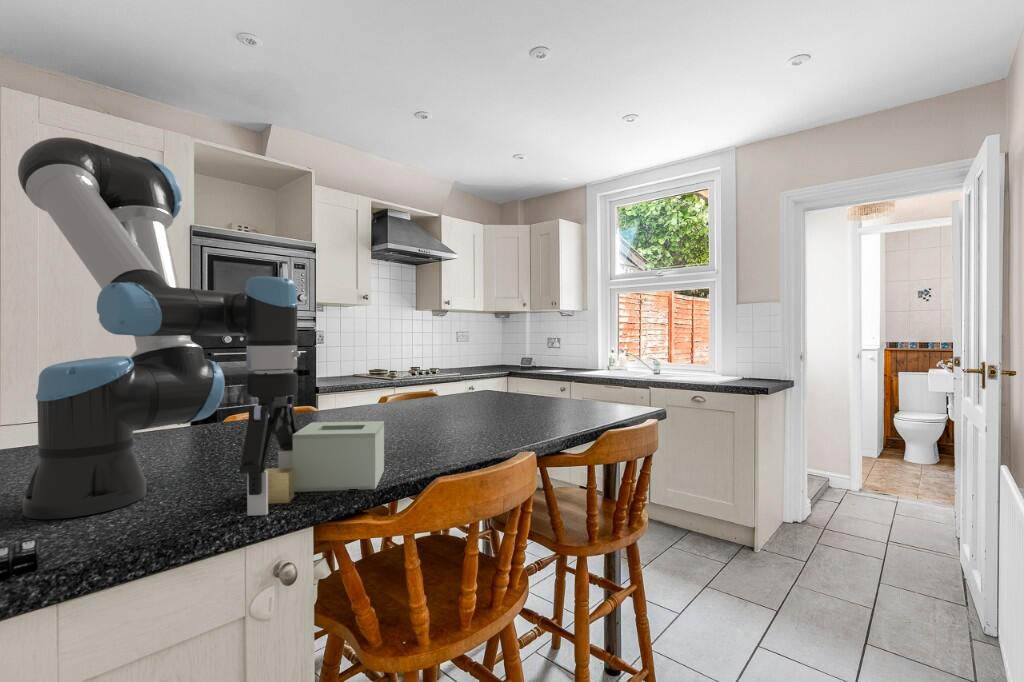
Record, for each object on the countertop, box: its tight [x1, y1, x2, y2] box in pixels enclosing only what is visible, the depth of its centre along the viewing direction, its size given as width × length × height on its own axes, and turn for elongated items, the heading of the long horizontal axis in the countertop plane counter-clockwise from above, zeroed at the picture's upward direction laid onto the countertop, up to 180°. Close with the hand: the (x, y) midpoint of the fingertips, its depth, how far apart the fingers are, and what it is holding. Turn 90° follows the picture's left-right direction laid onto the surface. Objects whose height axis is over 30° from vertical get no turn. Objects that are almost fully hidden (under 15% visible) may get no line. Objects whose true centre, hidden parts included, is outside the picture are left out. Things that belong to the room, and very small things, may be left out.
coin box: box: [293, 420, 385, 493], centre depth 93 cm, size 14×12×10 cm
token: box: [265, 467, 295, 505], centre depth 82 cm, size 6×3×5 cm, turn 97°
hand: (273, 500), depth 82 cm, fingers open, 13 cm apart
